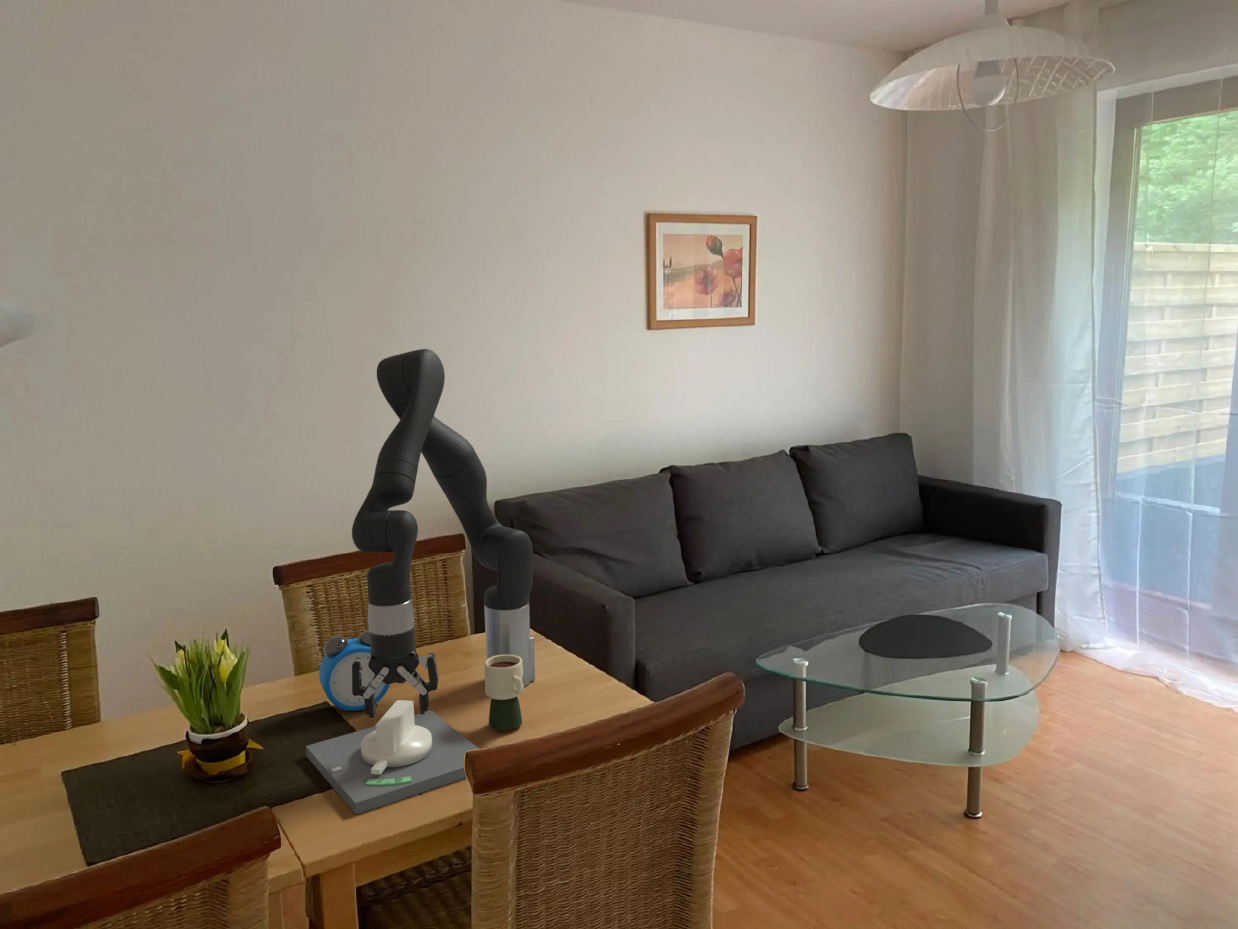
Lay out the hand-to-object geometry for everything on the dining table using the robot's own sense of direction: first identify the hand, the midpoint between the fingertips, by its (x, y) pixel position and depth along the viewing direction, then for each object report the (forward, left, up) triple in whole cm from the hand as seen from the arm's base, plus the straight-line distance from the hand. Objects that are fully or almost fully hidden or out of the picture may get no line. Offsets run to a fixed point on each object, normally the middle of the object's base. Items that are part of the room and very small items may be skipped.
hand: (397, 714), depth 163 cm
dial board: (0, 0, -9) cm, 9 cm away
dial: (+2, +1, -7) cm, 7 cm away
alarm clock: (-3, -27, -9) cm, 29 cm away
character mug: (-22, -1, -9) cm, 24 cm away
